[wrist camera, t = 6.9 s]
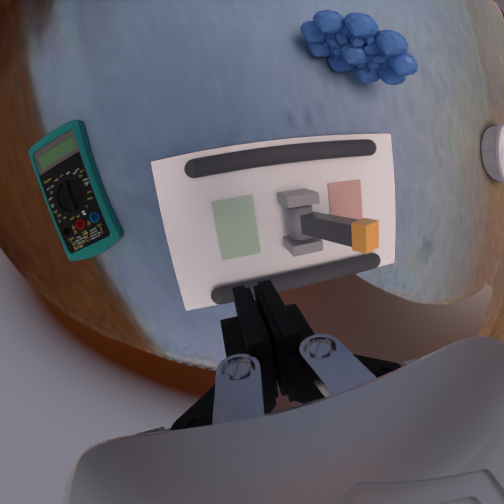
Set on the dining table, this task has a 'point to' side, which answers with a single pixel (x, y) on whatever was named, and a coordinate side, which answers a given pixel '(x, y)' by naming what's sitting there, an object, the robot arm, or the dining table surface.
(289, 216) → the breaker lever
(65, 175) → the digital multimeter
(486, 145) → the ramekin
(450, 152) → the dining table surface
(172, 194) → the switch base plate
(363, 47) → the grapes
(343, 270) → the pair of dark bars
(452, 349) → the robot arm
